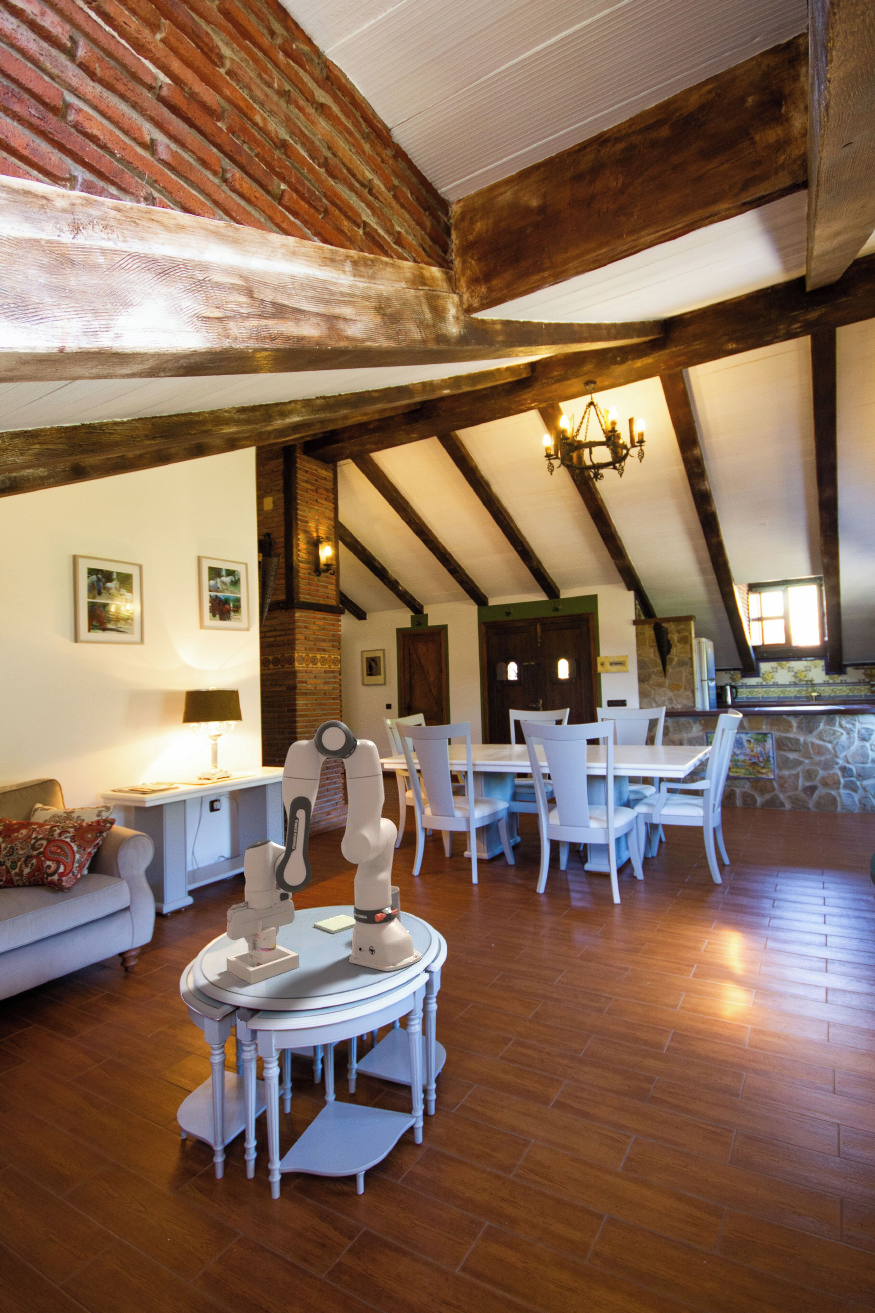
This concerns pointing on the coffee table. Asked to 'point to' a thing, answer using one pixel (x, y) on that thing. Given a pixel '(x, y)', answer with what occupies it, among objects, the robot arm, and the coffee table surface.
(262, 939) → the ink cartridge box
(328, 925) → the cream square pad
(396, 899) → the pillar candle
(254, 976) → the cartridge dock
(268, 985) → the coffee table surface
